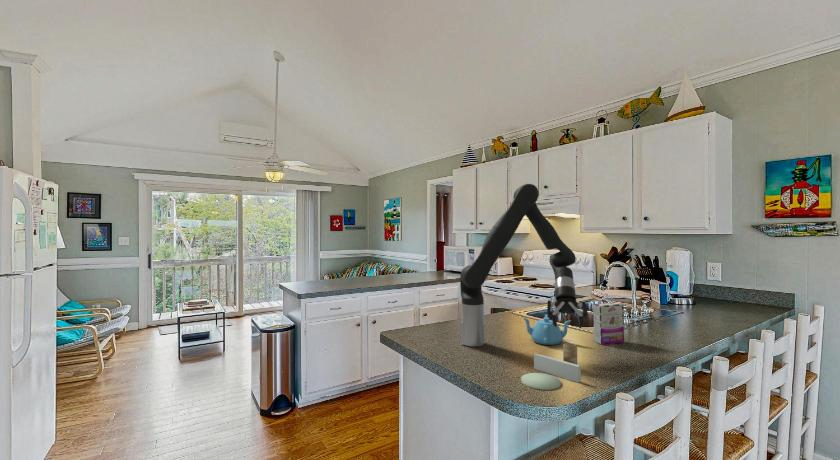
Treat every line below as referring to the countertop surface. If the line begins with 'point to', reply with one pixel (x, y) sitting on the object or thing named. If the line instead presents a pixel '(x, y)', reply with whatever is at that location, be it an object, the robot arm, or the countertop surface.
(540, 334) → the teapot
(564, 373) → the frosted wall
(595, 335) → the candy bar box
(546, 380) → the sage mat
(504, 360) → the countertop surface
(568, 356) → the beech cylinder
